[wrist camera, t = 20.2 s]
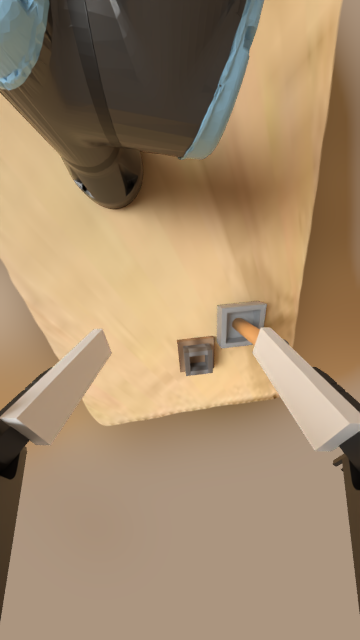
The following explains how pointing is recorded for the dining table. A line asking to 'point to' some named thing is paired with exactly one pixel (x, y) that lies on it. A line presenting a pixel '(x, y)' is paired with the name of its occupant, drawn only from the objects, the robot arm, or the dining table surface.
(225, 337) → the tray
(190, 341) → the grey square socket
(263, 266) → the dining table surface
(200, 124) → the robot arm
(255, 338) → the lock pin
